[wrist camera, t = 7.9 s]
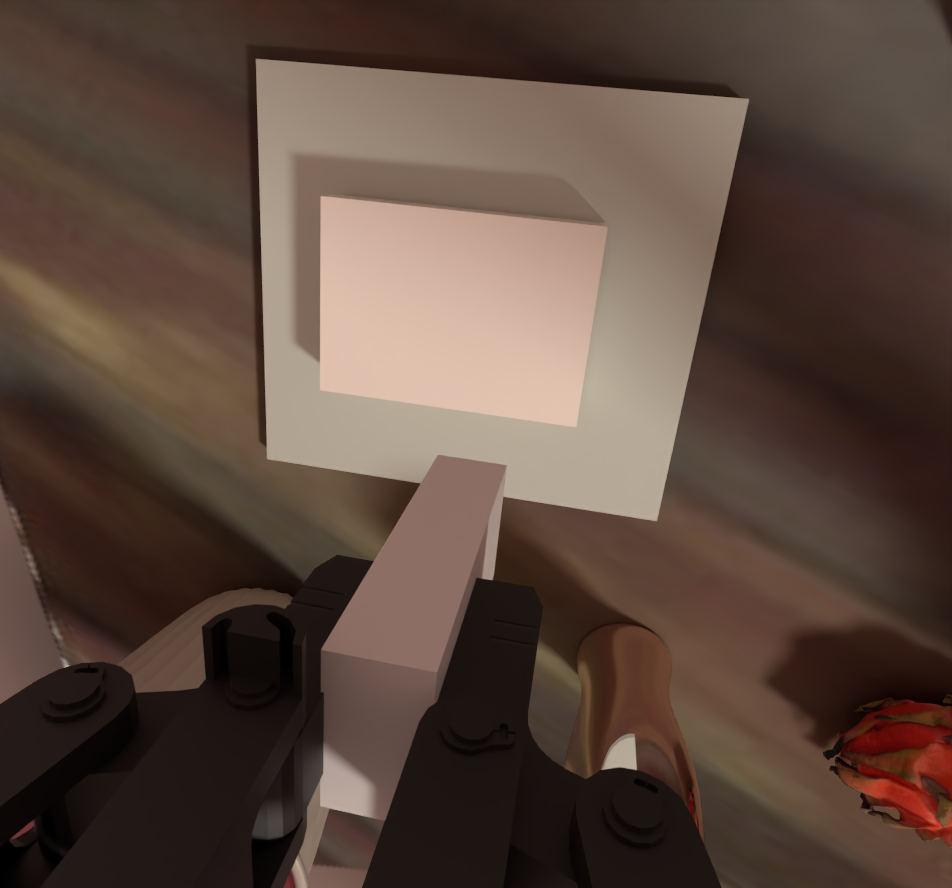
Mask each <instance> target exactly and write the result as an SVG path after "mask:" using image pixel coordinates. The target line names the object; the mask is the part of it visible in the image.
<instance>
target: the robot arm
mask: <svg viewBox="0 0 952 888" xmlns="http://www.w3.org/2000/svg"><path fill="white" fill-rule="evenodd" d="M506 469H507V465H502V464H496V463H489V462H483V461H476V460H470V459H463V458H457V457H450V456H444V455H438V456H437V457H436V459H435V461H434V462H433V464H432V466H431V467H430V469H429V471H428V472H427V474H426V476H425V477H424V479H423V481H422V482H421V484H420V486H419V487H418V489H417V491H416V492H415V494H414V496H413V497H412V499H411V501H410V502H409V504H408V506H407V507H406V509H405V511H404V512H403V514H402V515H401V517H400V519H399V520H398V522H397V524H396V525H395V527H394V529H393V530H392V532H391V534H390V535H389V537H388V539H387V540H386V542H385V544H384V545H383V547H382V549H381V550H380V552H379V554H378V555H377V557H376V559H375V560H374V561H369V560H363V559H357V558H352V557H346V556H341V555H336V556H335V557H333V558H331V559H330V560H328V561H326V562H325V563H323V564H321V565H320V566H318V567H316V568H315V569H314V570H313V572H312V573H311V574H310V576H309V577H308V578H307V580H306V581H305V582H304V584H303V585H302V588H301V590H300V589H299V590H298V592H297V593H296V595H295V596H294V597H293V599H292V600H291V603H290V605H289V604H288V605H287V607H286V608H285V609H284V608H281V607H278V606H275V605H261V604H253V605H247V606H241V607H235V608H232V609H230V610H228V611H225V612H223V613H220V614H218V615H216V616H214V617H213V618H212V619H211V620H209V621H208V622H207V623H206V624H204V625H203V626H202V636H203V649H204V662H205V675H206V679H205V680H204V681H203V683H202V684H201V685H200V686H199V688H194V689H187V690H179V691H159V692H140V693H136V691H135V686H134V681H133V677H132V675H131V674H130V673H129V672H127V671H126V670H125V669H124V668H122V667H121V666H117V665H113V664H109V663H105V662H95V663H81V664H77V665H73V666H69V667H66V668H62V669H59V670H57V671H55V672H53V673H51V674H49V675H47V676H45V677H43V678H41V679H39V680H37V681H35V682H34V683H32V684H31V685H29V686H28V687H26V688H25V689H23V690H21V691H20V692H18V693H17V694H15V695H14V696H12V697H11V698H9V699H7V700H6V701H4V702H3V703H1V704H0V888H283V887H284V885H285V883H286V880H287V878H288V876H289V874H290V872H291V869H292V867H293V865H294V863H295V860H296V858H297V856H298V854H299V851H300V849H301V847H302V845H303V842H304V838H305V833H306V829H307V807H308V805H309V803H310V801H311V798H312V796H313V794H314V792H315V790H316V788H317V786H318V784H319V781H320V806H322V807H326V808H331V809H335V810H340V811H344V812H349V813H353V814H357V815H362V816H366V817H371V818H375V819H379V820H384V821H385V823H384V826H383V828H382V831H381V834H380V837H379V840H378V843H377V846H376V849H375V852H374V855H373V858H372V860H371V863H370V866H369V869H368V872H367V875H366V878H365V881H364V884H363V887H362V888H721V885H720V883H719V880H718V878H717V875H716V873H715V870H714V868H713V865H712V863H711V860H710V858H709V855H708V853H707V850H706V848H705V845H704V843H703V840H702V838H701V835H700V833H699V830H698V828H697V826H696V823H695V821H694V818H693V816H692V814H691V813H690V811H689V810H688V808H687V806H686V805H685V803H684V801H683V800H682V798H681V797H680V796H679V795H678V794H677V793H675V792H674V791H673V790H672V789H671V788H670V787H669V786H668V785H666V784H665V783H664V782H663V781H661V780H659V779H657V778H655V777H653V776H651V775H649V774H647V773H645V772H643V771H639V770H633V769H628V768H622V767H617V768H611V769H605V770H599V771H598V772H596V773H595V774H593V775H592V776H590V777H589V778H587V779H584V778H582V777H580V776H578V775H577V774H575V773H573V772H571V771H569V770H567V769H565V768H563V767H562V766H560V765H559V764H557V763H556V762H554V761H552V760H551V759H550V758H549V757H548V756H547V755H546V754H545V753H544V752H543V751H542V750H541V749H540V748H539V746H538V745H537V743H536V742H535V740H534V739H533V737H532V735H531V732H530V729H529V726H528V708H529V701H530V694H531V687H532V680H533V673H534V666H535V659H536V651H537V644H538V637H539V630H540V623H541V616H542V609H543V607H542V605H541V603H540V601H539V598H538V596H537V594H536V592H535V590H534V588H533V587H527V586H522V585H516V584H510V583H505V582H499V581H493V576H494V570H495V561H496V553H497V544H498V536H499V528H500V519H501V511H502V502H503V494H504V486H505V477H506ZM31 821H33V822H34V826H33V827H32V828H31V829H29V830H28V831H27V832H25V833H23V834H22V835H20V836H18V837H17V838H15V839H11V838H12V837H13V836H14V835H16V834H17V833H18V832H19V831H20V830H22V829H23V828H24V827H25V826H27V825H28V824H29V823H30V822H31Z"/></svg>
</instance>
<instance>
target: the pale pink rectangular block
mask: <svg viewBox="0 0 952 888" xmlns="http://www.w3.org/2000/svg"><path fill="white" fill-rule="evenodd" d="M607 230H608V224H607V223H598V222H589V221H579V220H570V219H560V218H551V217H542V216H532V215H523V214H514V213H504V212H495V211H485V210H476V209H467V208H457V207H448V206H439V205H429V204H420V203H410V202H401V201H392V200H382V199H373V198H364V197H354V196H345V195H328V196H321V228H320V390H322V391H329V392H336V393H343V394H349V395H356V396H363V397H370V398H377V399H384V400H391V401H398V402H405V403H412V404H418V405H425V406H432V407H439V408H446V409H453V410H460V411H467V412H474V413H481V414H488V415H494V416H501V417H508V418H515V419H522V420H529V421H536V422H543V423H550V424H557V425H564V426H570V427H577V420H578V414H579V408H580V401H581V395H582V389H583V382H584V376H585V370H586V363H587V357H588V351H589V344H590V338H591V332H592V325H593V319H594V313H595V306H596V300H597V294H598V287H599V281H600V275H601V268H602V262H603V256H604V249H605V243H606V237H607Z"/></svg>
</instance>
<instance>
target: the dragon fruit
mask: <svg viewBox="0 0 952 888" xmlns="http://www.w3.org/2000/svg"><path fill="white" fill-rule="evenodd" d="M950 697H951V698H950ZM943 703H944V705H945V707H944V706H940V705H937V704H931V703H916V702H914V701H912V700H908V699H903V700H893V698H886V699H883V700H879V701H874V702H871V703H868V704H866V705H862V706H859V707H858V709H856V710H854V712H864V713H867V715H865V716H864V718H863V719H862V720H861V721H860V723H858V724H857V725H856V726H855V727H853V728H852V729H851V730H848V731H846V732H838V733H837V736H836V744H835V745H834V747H833V749H832V750H827V751H825V752H823V755H824V756H825V757H826V759H828V760H829V759H830V758H833V757H834V756H835V755H837V754H839V756H840V757H835V766H830V769H831V770H830V769H829V770H830V771H834V773H835V774H836V775H838V777H839V778H840V779H841V780H842V781H843V783H844V784H846V785H847V786H849V787H851V788H852V789H855V790H856V791H858V792H861V795H860V797H861V798H862V800H863V803H862V807H860V809H861V810H862V811H863V812H865V813H867V814H870V815H873V816H878V817H882V819H883V821H884V823H886V824H887V825H889V826H891V827H895V828H900V829H904V828H908V829H915V830H916V833H917V834H918V835H919V837H921V838H922V840H924V841H927V840H931V841H932V840H936V839H942V840H943V841H944V843H945V844H946V846H947V847H948V848H950V849H952V695H951V694H949V695H946V697H945V698H944V700H943ZM843 760H844V761H843ZM845 761H846V762H848V763H851V766H850V765H849V764H848V763H846V762H845ZM826 776H827V775H826ZM825 778H826V777H825ZM874 805H875V806H882V807H887V808H892V809H897V810H898V811H899V813H900V819H899V820H896V819H894V818H892V817H891V816H890V815H889V814H887V813H885V812H884V813H883V812H880V811H875V810H874V809H873V808H872V806H874Z"/></svg>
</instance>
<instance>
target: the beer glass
mask: <svg viewBox="0 0 952 888" xmlns="http://www.w3.org/2000/svg"><path fill="white" fill-rule="evenodd" d="M577 670H578V675H579V680H580V684H581V702H580V706H579V710H578V714H577V717H576V720H575V724H574V727H573V730H572V734H571V737H570V741H569V744H568V749H567V753H566V758H565V762H564V767H563V768H565V769H567V770H569V771H571V772H573V773H575V774H577V775H578V776H580V777H582V778H584V779H587V778H589V777H590V776H592V775H593V774H595V773H596V772H598V771H599V770H605V769H611V768H617V767H622V768H628V769H633V770H639V771H643V772H645V773H647V774H649V775H651V776H653V777H655V778H657V779H659V780H661V781H663V782H664V783H665V784H666V785H668V786H669V787H670V788H671V789H672V790H673V791H674V792H675V793H677V794H678V795H679V796H680V797H681V798H682V800H683V801H684V803H685V805H686V806H687V808H688V810H689V811H690V813H691V814H692V816H693V818H694V821H695V823H696V826H697V828H698V830H699V833H700V835H701V838H702V840H703V843H704V845H705V832H704V820H703V812H702V804H701V797H700V792H699V787H698V782H697V777H696V773H695V769H694V766H693V763H692V760H691V756H690V753H689V750H688V748H687V745H686V742H685V740H684V737H683V734H682V732H681V729H680V727H679V724H678V721H677V719H676V716H675V714H674V711H673V708H672V705H671V701H670V694H669V690H670V681H671V674H672V660H671V656H670V653H669V651H668V649H667V647H666V645H665V644H664V642H663V641H662V640H661V639H660V638H659V637H658V636H657V635H655V634H654V633H653V632H651V631H649V630H647V629H645V628H643V627H640V626H637V625H633V624H626V623H617V624H610V625H606V626H603V627H600V628H598V629H596V630H594V631H593V632H591V633H590V634H589V635H588V636H587V637H586V638H585V639H584V640H583V641H582V643H581V645H580V647H579V649H578V653H577ZM705 848H706V846H705Z"/></svg>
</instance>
